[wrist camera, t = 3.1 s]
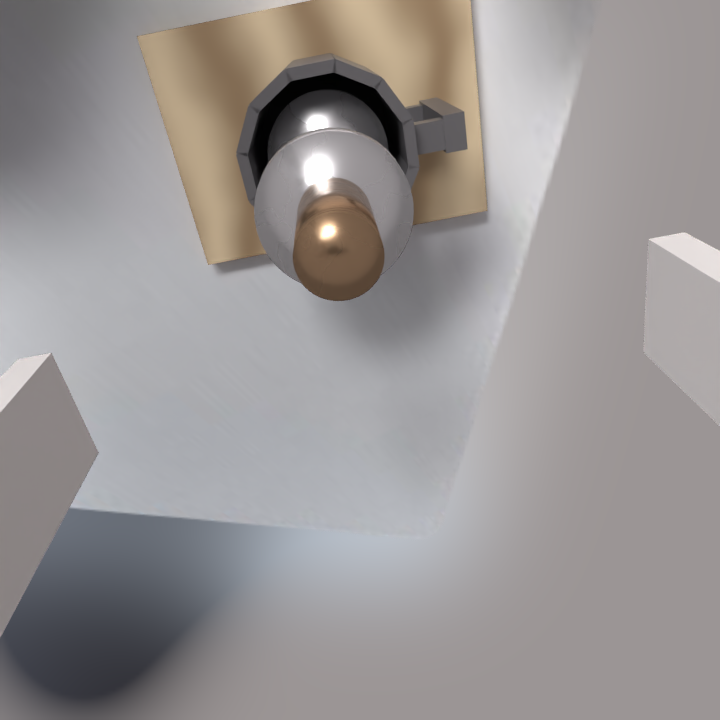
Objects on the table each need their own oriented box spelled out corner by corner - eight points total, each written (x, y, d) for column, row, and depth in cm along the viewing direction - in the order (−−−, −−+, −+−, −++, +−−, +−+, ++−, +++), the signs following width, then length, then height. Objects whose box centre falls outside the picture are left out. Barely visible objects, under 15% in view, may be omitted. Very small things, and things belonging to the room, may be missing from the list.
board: (210, 259, 49) (208, 264, 48) (141, 36, 41) (136, 36, 40) (483, 206, 48) (487, 210, 47) (463, -30, 41) (467, -32, 40)
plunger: (284, 222, 37) (258, 374, 20) (255, 102, 34) (196, 166, 17) (395, 200, 37) (460, 335, 20) (376, 77, 34) (435, 118, 17)
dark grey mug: (276, 209, 46) (264, 261, 36) (242, 70, 42) (216, 82, 31) (440, 177, 46) (477, 219, 35) (423, 33, 41) (460, 33, 31)
